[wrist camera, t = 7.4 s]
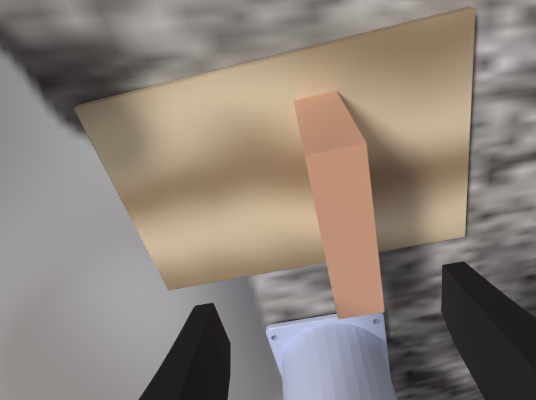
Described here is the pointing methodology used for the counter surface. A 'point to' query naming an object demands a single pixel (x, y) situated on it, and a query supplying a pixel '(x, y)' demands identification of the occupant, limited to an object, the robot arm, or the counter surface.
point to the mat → (291, 150)
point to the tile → (342, 202)
